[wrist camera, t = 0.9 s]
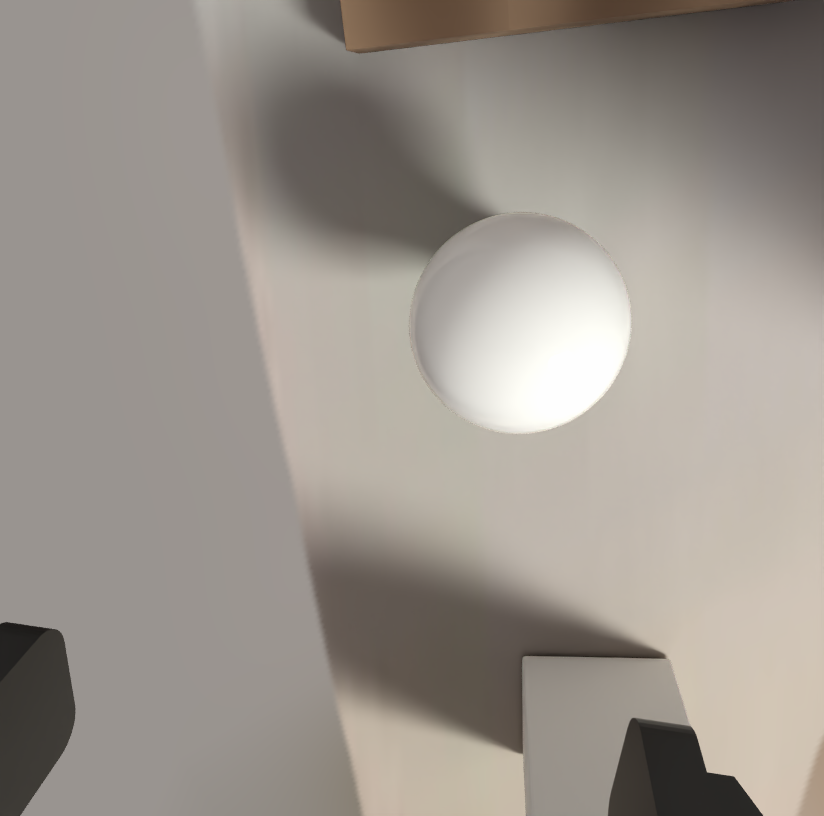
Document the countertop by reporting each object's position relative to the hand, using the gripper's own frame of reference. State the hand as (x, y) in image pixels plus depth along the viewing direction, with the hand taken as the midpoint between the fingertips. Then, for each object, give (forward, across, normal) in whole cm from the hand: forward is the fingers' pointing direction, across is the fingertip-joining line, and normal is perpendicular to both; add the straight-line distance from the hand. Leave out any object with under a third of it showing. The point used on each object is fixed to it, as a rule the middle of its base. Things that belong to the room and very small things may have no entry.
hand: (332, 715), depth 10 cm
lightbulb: (+21, -2, -2) cm, 21 cm away
